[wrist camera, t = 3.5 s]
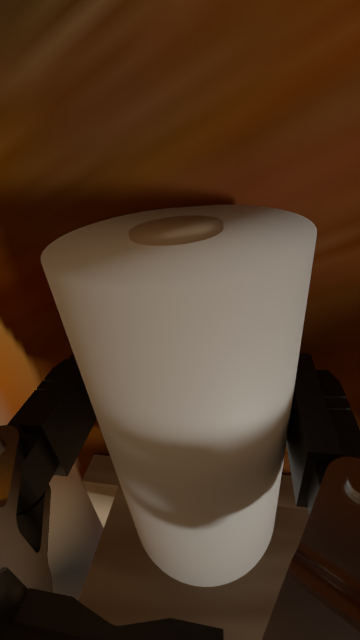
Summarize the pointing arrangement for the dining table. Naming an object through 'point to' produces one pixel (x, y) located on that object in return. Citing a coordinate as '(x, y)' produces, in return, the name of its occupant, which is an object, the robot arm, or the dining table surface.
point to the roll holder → (168, 593)
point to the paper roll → (190, 369)
